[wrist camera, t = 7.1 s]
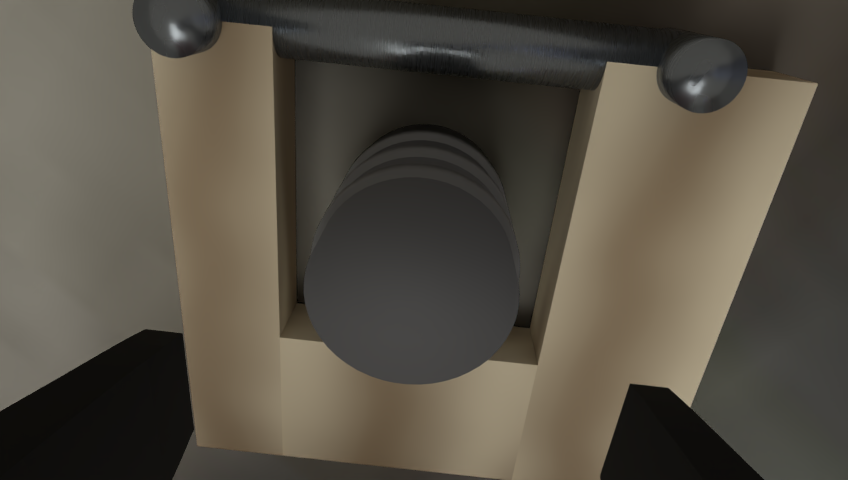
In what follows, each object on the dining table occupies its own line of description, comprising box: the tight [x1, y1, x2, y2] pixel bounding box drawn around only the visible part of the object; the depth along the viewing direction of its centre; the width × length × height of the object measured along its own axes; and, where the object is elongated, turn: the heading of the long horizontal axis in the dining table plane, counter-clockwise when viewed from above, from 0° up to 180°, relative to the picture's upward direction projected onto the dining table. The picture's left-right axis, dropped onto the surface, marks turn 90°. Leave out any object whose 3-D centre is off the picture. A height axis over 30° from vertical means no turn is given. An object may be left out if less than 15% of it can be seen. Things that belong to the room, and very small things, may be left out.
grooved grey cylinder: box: [304, 125, 520, 385], centre depth 14 cm, size 5×5×6 cm
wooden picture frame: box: [151, 22, 818, 480], centre depth 17 cm, size 16×14×2 cm
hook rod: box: [133, 0, 748, 113], centre depth 13 cm, size 14×2×3 cm, turn 85°
